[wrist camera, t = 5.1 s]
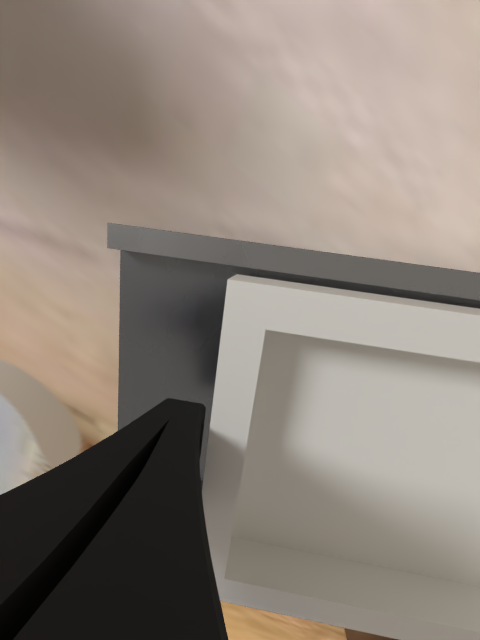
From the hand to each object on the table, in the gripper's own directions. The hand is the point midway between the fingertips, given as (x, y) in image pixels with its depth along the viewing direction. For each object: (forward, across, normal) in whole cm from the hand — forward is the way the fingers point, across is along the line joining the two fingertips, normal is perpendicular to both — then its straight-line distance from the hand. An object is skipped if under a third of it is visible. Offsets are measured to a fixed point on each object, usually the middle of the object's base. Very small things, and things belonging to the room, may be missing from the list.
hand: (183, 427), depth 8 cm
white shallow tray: (+3, -7, 0) cm, 8 cm away
